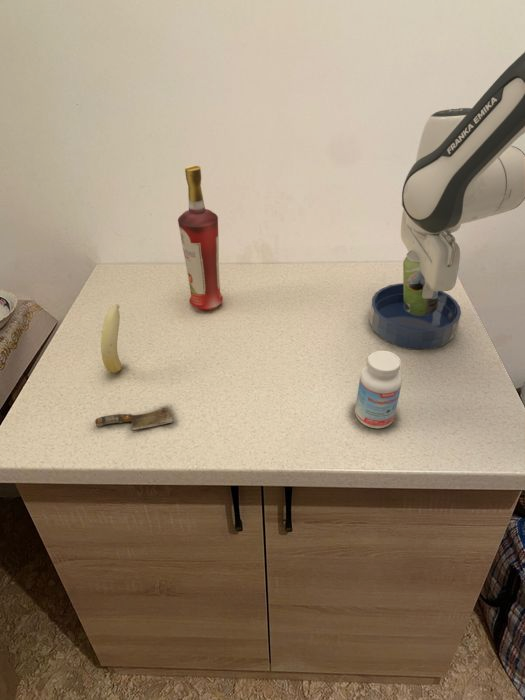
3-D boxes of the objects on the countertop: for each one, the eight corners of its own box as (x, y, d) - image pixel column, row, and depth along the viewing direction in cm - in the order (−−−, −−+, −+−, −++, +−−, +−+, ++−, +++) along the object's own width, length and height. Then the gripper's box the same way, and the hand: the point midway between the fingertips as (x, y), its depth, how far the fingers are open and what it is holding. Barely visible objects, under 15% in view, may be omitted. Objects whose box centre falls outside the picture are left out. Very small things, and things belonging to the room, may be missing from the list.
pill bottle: (365, 433, 76) (374, 378, 69) (348, 406, 80) (355, 351, 73) (401, 425, 77) (414, 369, 70) (383, 398, 82) (393, 343, 75)
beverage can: (439, 320, 92) (453, 261, 85) (399, 320, 92) (409, 262, 85) (431, 301, 97) (443, 244, 90) (392, 301, 97) (402, 245, 90)
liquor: (182, 303, 105) (163, 167, 87) (212, 291, 108) (199, 158, 91) (200, 318, 100) (184, 179, 83) (231, 306, 103) (222, 169, 86)
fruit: (95, 380, 84) (110, 384, 83) (98, 312, 79) (114, 316, 79) (111, 366, 89) (125, 370, 89) (115, 302, 84) (129, 306, 84)
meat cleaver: (170, 433, 77) (176, 410, 81) (170, 427, 76) (175, 405, 80) (93, 430, 77) (103, 408, 81) (92, 425, 76) (101, 402, 80)
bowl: (439, 300, 104) (444, 281, 101) (468, 349, 91) (474, 329, 88) (361, 303, 103) (364, 284, 101) (379, 352, 91) (383, 332, 88)
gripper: (477, 241, 75) (456, 317, 84) (434, 190, 91) (420, 258, 100) (435, 243, 75) (419, 319, 84) (399, 191, 91) (389, 260, 100)
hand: (419, 285), depth 92 cm, fingers closed on beverage can, 5 cm apart
